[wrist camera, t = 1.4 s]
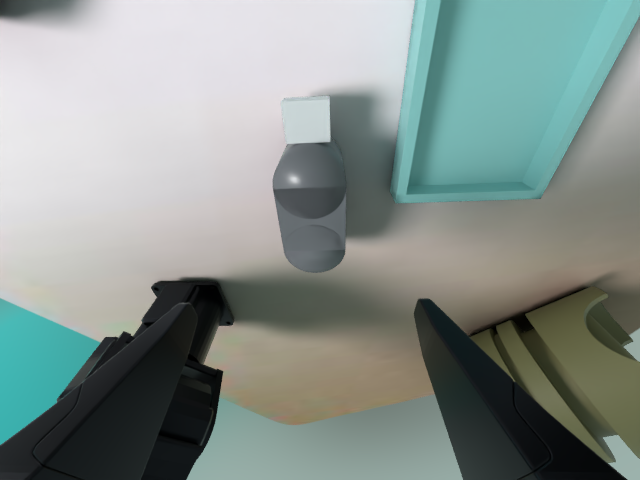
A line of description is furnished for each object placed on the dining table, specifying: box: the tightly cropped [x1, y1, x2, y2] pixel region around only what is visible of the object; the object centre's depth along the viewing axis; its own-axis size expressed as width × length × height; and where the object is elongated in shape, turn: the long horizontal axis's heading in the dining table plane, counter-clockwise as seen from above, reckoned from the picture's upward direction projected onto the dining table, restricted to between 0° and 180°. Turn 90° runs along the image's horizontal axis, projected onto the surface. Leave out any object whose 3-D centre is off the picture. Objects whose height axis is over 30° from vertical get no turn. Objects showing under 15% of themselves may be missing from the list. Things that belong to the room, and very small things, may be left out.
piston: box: [470, 286, 640, 463], centre depth 22 cm, size 11×12×11 cm
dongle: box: [273, 96, 346, 273], centre depth 16 cm, size 10×4×4 cm, turn 3°
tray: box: [390, 0, 640, 203], centre depth 12 cm, size 15×9×2 cm, turn 3°
